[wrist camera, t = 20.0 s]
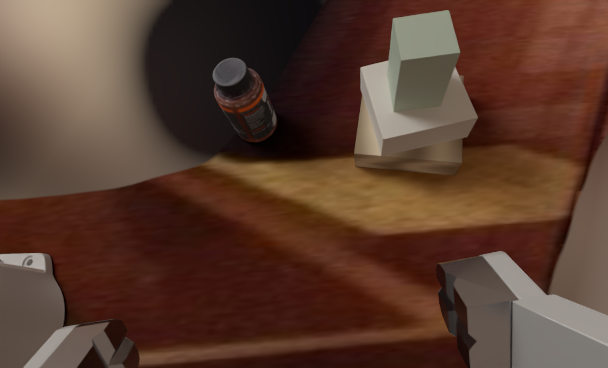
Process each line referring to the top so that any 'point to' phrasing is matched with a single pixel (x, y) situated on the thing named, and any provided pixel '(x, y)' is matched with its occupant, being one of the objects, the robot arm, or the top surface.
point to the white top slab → (414, 114)
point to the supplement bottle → (244, 100)
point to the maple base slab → (405, 152)
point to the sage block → (421, 60)
